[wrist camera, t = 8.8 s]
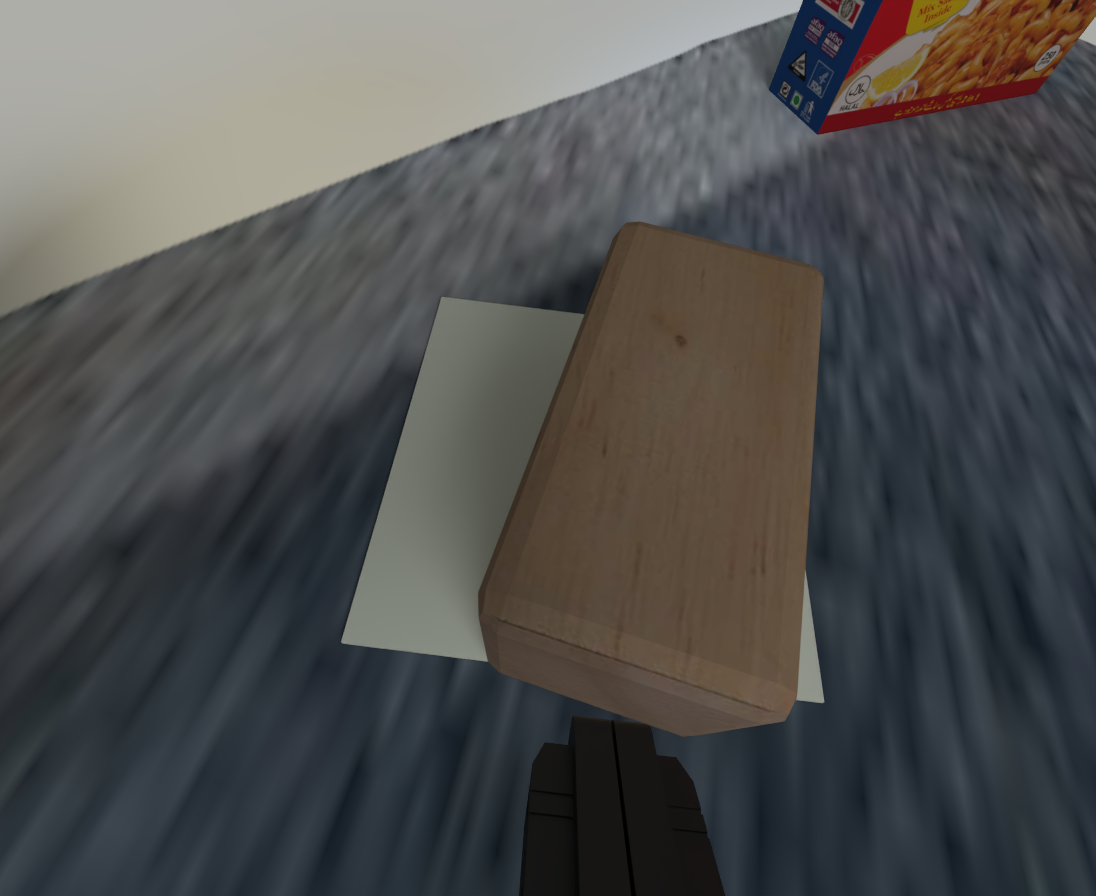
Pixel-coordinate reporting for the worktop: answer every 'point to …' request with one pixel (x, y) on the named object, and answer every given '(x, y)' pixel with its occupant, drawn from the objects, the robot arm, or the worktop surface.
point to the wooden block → (669, 493)
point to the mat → (470, 481)
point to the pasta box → (919, 56)
